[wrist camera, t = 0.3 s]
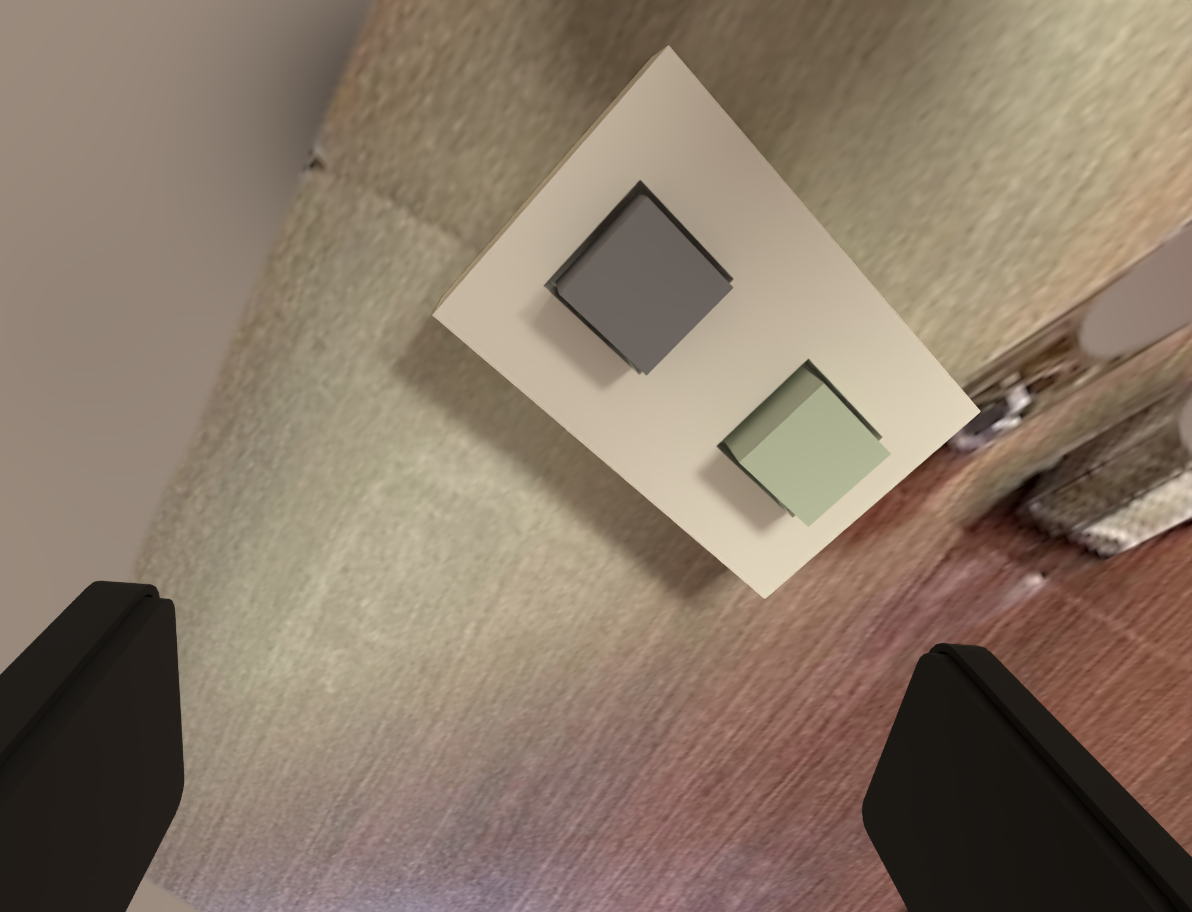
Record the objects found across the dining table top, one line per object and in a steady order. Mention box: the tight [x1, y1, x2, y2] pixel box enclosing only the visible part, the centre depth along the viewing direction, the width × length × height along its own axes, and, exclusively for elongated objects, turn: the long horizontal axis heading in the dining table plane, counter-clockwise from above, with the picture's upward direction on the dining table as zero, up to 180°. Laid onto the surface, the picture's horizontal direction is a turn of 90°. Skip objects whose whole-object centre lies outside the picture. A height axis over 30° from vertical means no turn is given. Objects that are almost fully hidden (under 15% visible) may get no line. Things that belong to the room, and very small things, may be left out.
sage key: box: [723, 366, 891, 527], centre depth 34 cm, size 5×5×3 cm
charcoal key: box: [556, 193, 733, 376], centre depth 30 cm, size 5×5×3 cm
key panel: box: [432, 45, 981, 599], centre depth 34 cm, size 14×22×4 cm, turn 46°
